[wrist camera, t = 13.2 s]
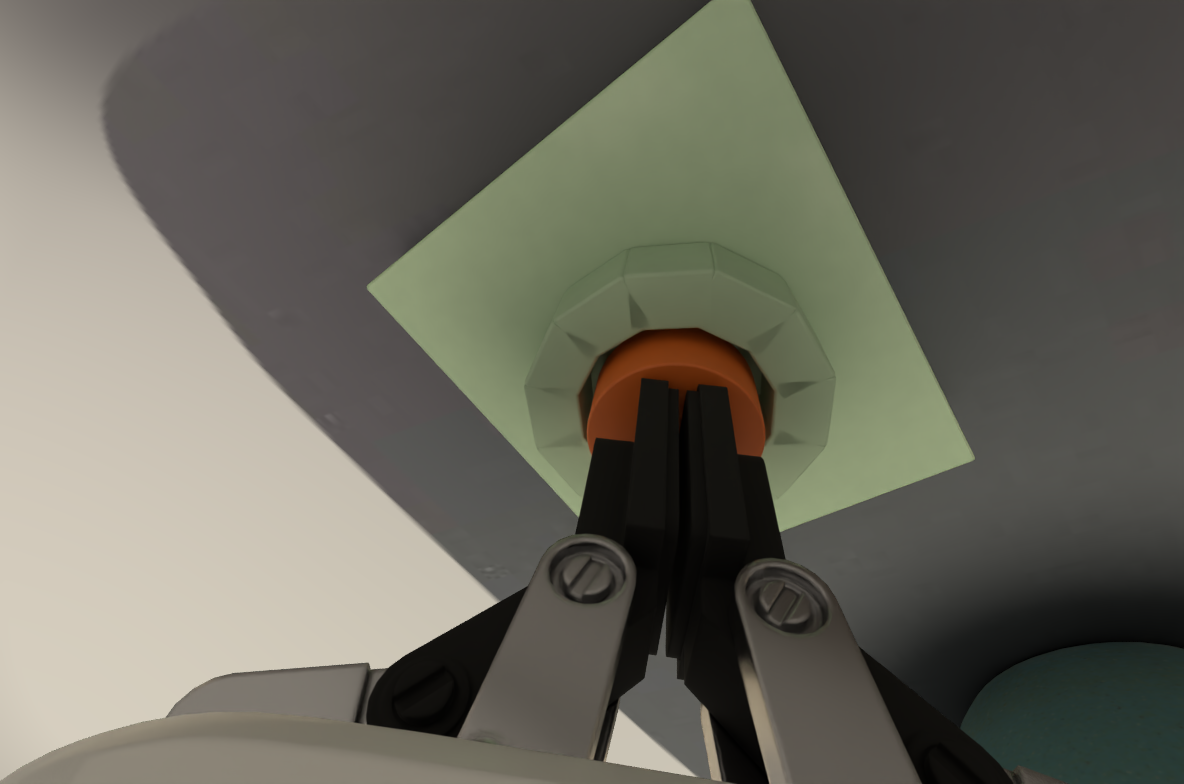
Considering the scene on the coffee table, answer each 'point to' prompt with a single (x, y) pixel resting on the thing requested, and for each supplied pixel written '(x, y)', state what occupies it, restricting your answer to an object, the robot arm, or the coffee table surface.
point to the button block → (683, 276)
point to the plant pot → (1088, 714)
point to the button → (674, 383)
